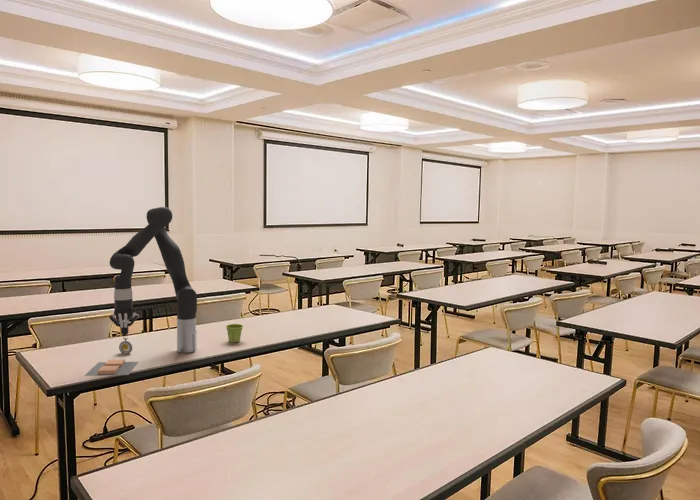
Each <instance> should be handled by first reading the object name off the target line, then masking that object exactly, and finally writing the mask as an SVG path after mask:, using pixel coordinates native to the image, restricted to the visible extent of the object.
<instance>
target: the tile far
mask: <svg viewBox="0 0 700 500" xmlns="http://www.w3.org/2000/svg"><path fill="white" fill-rule="evenodd" d="M105 362H106V363H105V366H119V367H122V365H123V364H124V363H125V362H126V359H121V358H120V359H108V360H107V361H105Z"/></svg>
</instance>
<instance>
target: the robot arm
mask: <svg viewBox="0 0 700 500" xmlns="http://www.w3.org/2000/svg"><path fill="white" fill-rule="evenodd" d="M146 220H147V225H146V226H145V227H144V228H142V229H141V230H139V231H138V232H136V234H135V235H133V236H132V237H131V238H130V240H128V242H127V243H126V244H125V245H124V246H122V247H121V248H119V249H118V250H116V252H114V253H113V254H112V255H111V257H110V259H109V266H110V268H111V269H113V270H118V271H119V270H120V274H117V275H116V276H114V279H113V282H114V284H113V285H114V286H113V287H114V290H113V291H114V292H113V298H114V299H113V300H114V310H113V313H112V314H110V315H109V316H108V318H109V320H110V321H112V322H113V324H114V325H115V327H117V328H120V333H121V335H122V336H123V337H124V336H125V337H126V336H128V334H129V327H131V326H132V325H133V324H134V323H135V322H136V321H137V320H138V318H139V317H140V314H138V313H136V312H135V309H134V308H133V307H134V304H133V303H134V302H133V301H134V300H133V290H132V277H133V274H134V268H135V260H134V257H137V256H139V255H140V254H141V252H142V251H143V250H145V248H146V246H147V245H148V244H149V243H150V242H151V241H152V240H153V239H155V241H156V243H157V246H158V249H159V251H160V255H161V257H162V260H163V264H164V265H165V269H166V270H167V272H168V274H169V276H170V279H171V281H172V285H173V288H174V293H175V297H176V300H177V312H176V351H177V352H178V353H181V354H183V353H184V354H188V353H189V354H190V353H194V352H196V351H197V341H198V340H197V339H198V338H197V332H198V331H197V318H196V317H197V311H198V307H197V306H198V295H197V292H196V291H195V289H193V287H192V285H191V284H190V282H189V279H188V277H187V273H186V266H185V261H184V258H183V254H182V251H181V249H180V247H179V245H178V244H177V243H176V242H175V241H174V240H173V239H172V238H171V236H170V235H169V234H168V232H167V230H166V227H167V226H168V225H170V223H171V222H172V220H173V213H172V210H171V208H168V207H167V206H159V207H156V208H155V207H154V208H151V209H149V210H148V211H147V213H146ZM131 317H132V319H131ZM130 319H131V321H130Z"/></svg>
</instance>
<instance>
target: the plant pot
mask: <svg viewBox="0 0 700 500" xmlns="http://www.w3.org/2000/svg"><path fill="white" fill-rule="evenodd" d="M225 328H226V331H227V336H228V342H229V343H231V344H233V343H234V344H235V343H239V342H241V336H242V330H243V328H244V325H242V324H239V323H230V324H226V325H225Z"/></svg>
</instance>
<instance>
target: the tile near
mask: <svg viewBox="0 0 700 500" xmlns="http://www.w3.org/2000/svg"><path fill="white" fill-rule="evenodd" d="M118 370H119V366H102V367H101V368H100V369H99V370H98V374H115V373H116V372H117V371H118Z"/></svg>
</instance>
